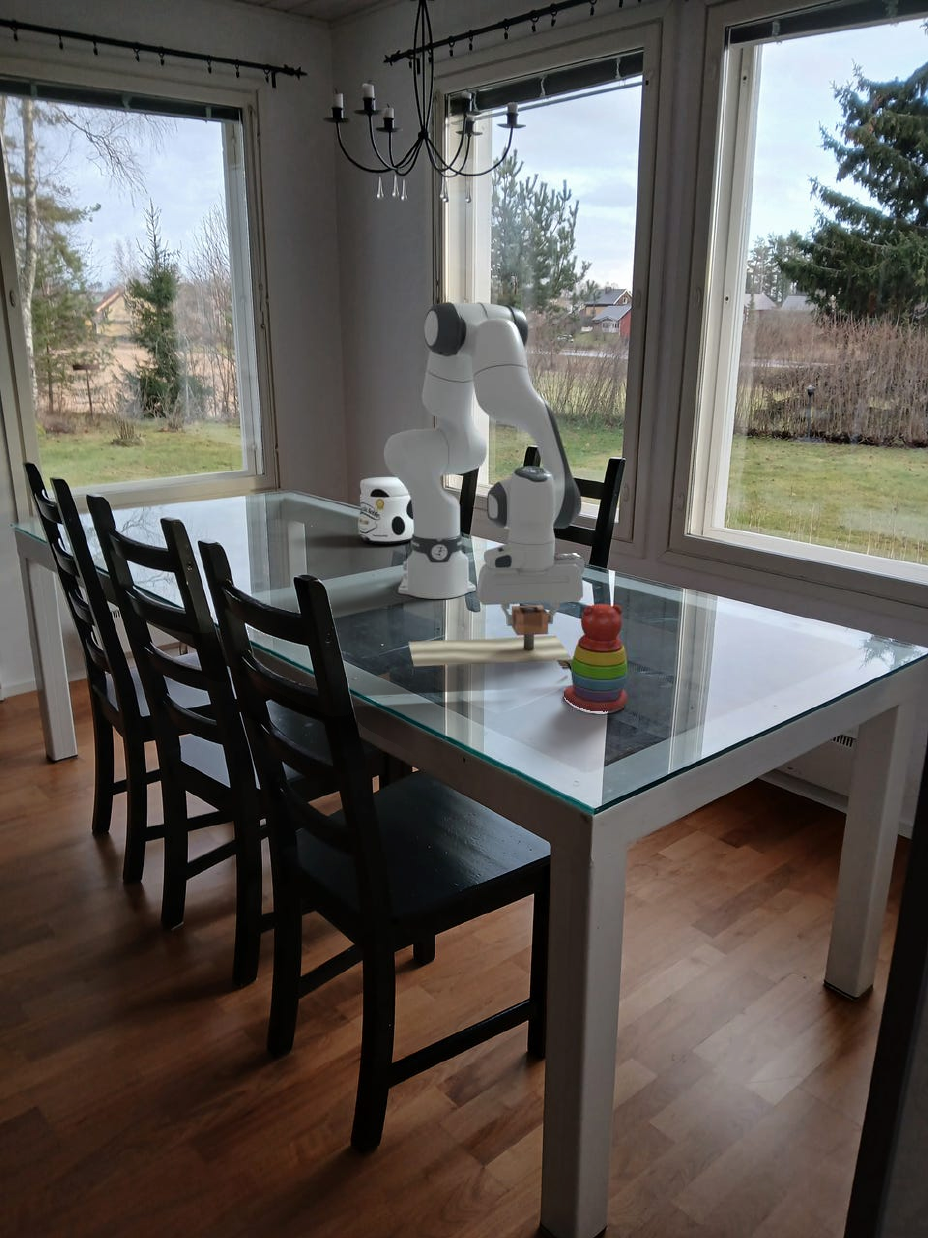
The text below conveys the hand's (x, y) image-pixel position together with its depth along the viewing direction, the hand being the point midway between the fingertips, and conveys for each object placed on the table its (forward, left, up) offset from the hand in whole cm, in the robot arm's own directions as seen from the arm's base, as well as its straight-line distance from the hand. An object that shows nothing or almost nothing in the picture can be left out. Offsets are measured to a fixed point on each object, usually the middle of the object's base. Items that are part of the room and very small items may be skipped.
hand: (529, 624), depth 182 cm
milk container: (-105, -22, -7) cm, 107 cm away
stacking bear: (+25, +7, -7) cm, 27 cm away
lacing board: (0, -8, -6) cm, 10 cm away
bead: (0, 0, -1) cm, 1 cm away
